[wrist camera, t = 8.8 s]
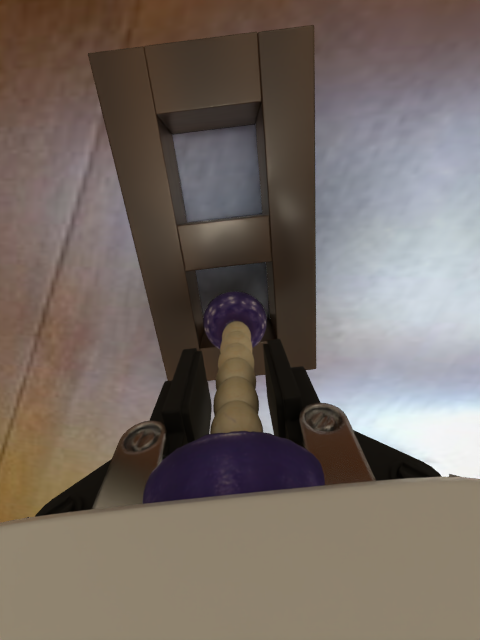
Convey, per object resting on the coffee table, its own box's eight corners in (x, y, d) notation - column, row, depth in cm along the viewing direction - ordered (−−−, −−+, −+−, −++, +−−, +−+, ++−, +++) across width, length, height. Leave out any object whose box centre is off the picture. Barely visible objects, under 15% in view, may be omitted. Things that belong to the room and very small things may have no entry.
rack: (296, 65, 18) (314, 23, 14) (303, 343, 26) (316, 369, 22) (119, 87, 19) (87, 52, 14) (178, 357, 26) (168, 385, 22)
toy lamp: (185, 330, 19) (-20, 918, 3) (216, 269, 17) (115, 801, 2) (247, 358, 20) (322, 909, 4) (281, 303, 18) (586, 829, 3)
